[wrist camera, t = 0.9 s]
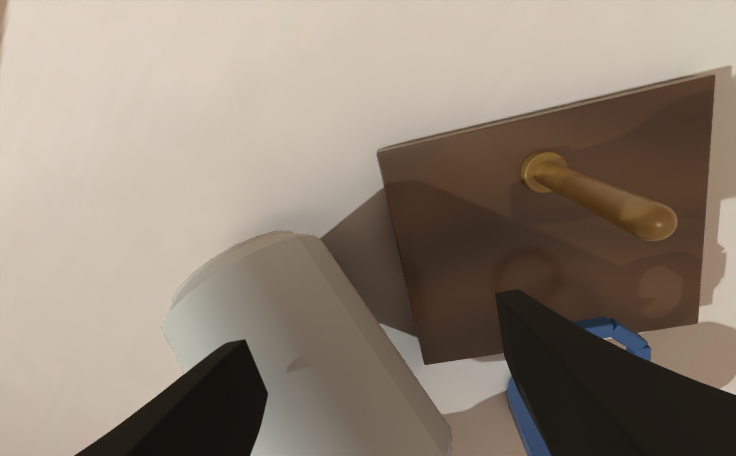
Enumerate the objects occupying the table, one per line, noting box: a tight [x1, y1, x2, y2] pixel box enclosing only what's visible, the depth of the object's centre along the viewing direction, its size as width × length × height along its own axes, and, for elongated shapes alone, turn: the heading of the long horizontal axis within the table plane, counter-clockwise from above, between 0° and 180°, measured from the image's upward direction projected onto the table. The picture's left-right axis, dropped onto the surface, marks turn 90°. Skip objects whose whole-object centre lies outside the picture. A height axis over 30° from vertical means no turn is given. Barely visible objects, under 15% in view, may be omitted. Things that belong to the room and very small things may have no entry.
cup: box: [507, 317, 651, 456], centre depth 18 cm, size 11×5×6 cm, turn 13°
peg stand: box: [377, 75, 715, 365], centre depth 14 cm, size 12×14×9 cm
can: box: [161, 231, 452, 456], centre depth 15 cm, size 8×8×12 cm
